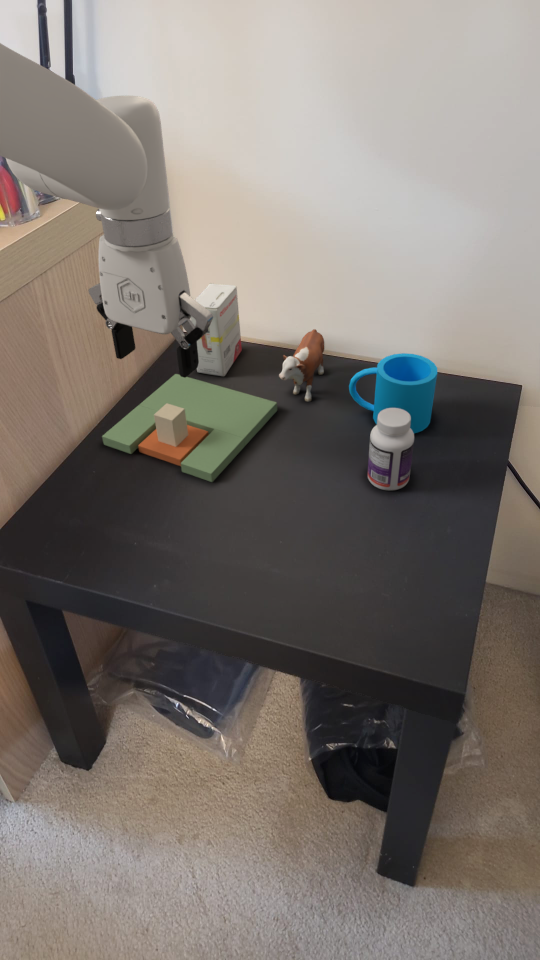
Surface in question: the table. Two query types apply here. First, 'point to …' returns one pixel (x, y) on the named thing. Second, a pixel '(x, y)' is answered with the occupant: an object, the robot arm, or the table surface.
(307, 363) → the bull figurine
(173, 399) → the green mat
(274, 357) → the table surface
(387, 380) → the mug
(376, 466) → the pill bottle
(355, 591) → the table surface
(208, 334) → the ink box
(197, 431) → the terracotta pad
